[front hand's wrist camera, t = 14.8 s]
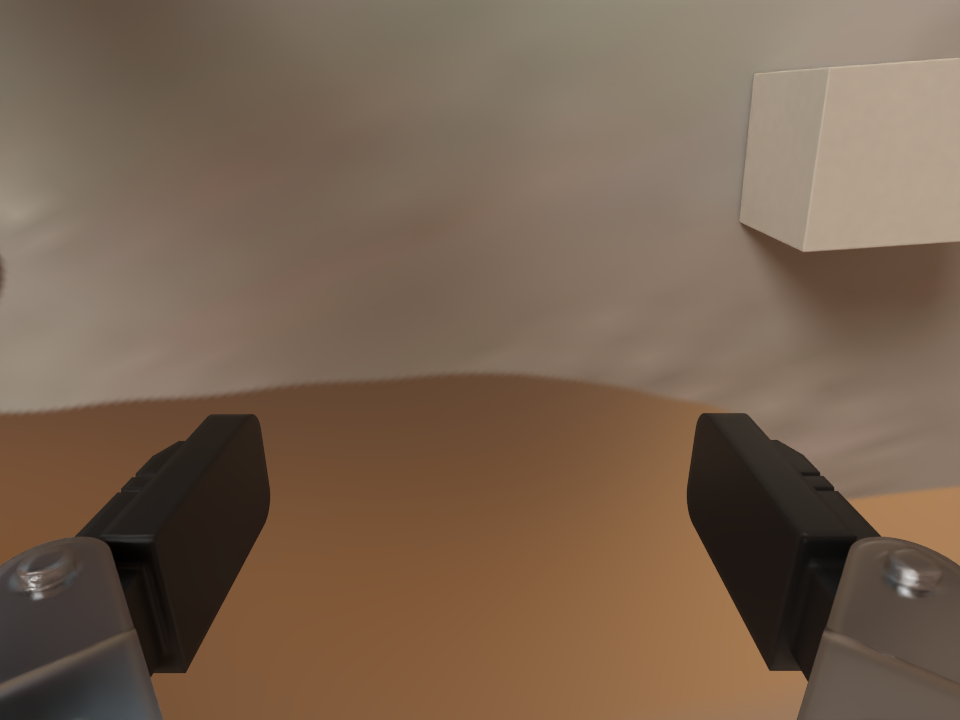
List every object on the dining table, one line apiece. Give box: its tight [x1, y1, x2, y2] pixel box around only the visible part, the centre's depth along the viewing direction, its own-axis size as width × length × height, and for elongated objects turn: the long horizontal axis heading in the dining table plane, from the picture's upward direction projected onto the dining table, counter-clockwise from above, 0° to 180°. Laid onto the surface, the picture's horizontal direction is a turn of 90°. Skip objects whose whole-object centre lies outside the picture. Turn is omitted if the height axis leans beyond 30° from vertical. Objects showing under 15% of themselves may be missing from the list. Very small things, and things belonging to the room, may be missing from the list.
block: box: [739, 58, 960, 252], centre depth 20 cm, size 5×5×5 cm
